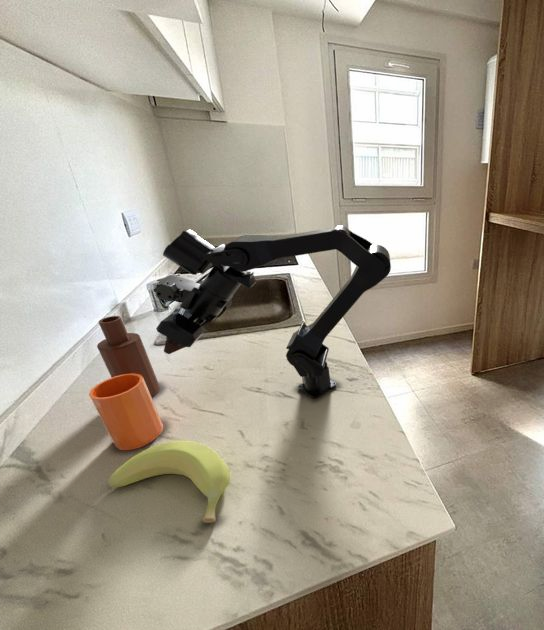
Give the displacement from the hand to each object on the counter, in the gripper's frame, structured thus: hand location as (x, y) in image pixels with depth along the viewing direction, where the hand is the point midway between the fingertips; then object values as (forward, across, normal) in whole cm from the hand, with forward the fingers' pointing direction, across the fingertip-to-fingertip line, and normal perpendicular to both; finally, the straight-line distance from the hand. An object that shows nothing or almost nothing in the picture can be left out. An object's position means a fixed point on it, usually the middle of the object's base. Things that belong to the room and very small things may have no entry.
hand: (179, 341), depth 70 cm
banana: (+4, +26, +16) cm, 31 cm away
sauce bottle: (+19, -1, 0) cm, 19 cm away
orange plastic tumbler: (+14, +12, +6) cm, 19 cm away
